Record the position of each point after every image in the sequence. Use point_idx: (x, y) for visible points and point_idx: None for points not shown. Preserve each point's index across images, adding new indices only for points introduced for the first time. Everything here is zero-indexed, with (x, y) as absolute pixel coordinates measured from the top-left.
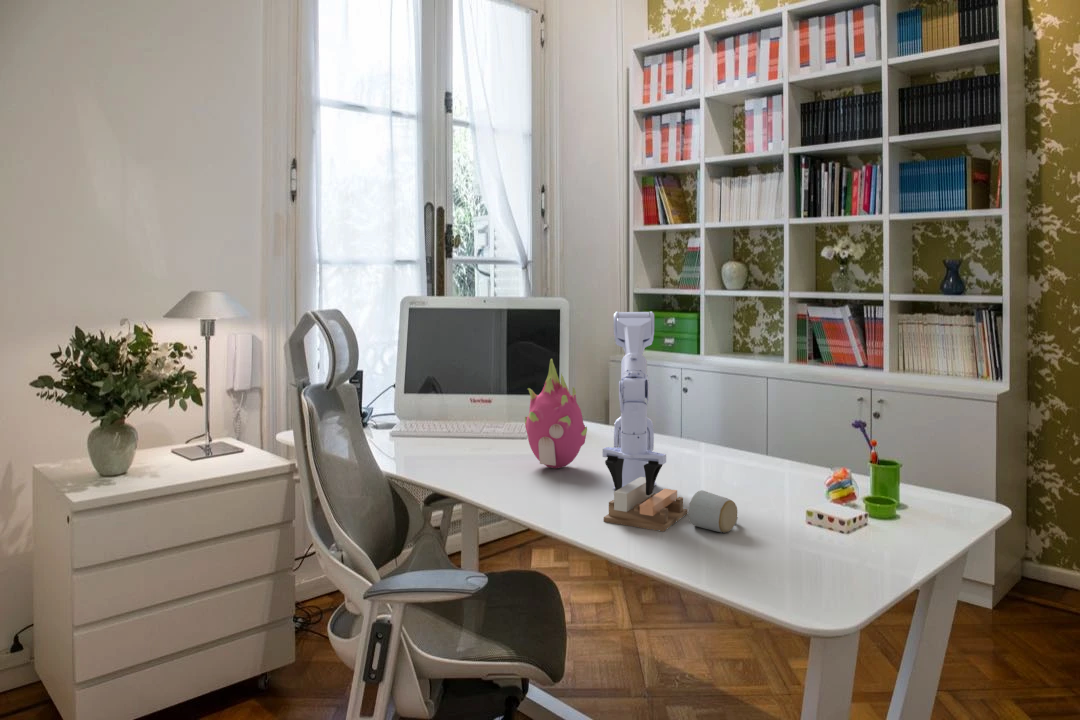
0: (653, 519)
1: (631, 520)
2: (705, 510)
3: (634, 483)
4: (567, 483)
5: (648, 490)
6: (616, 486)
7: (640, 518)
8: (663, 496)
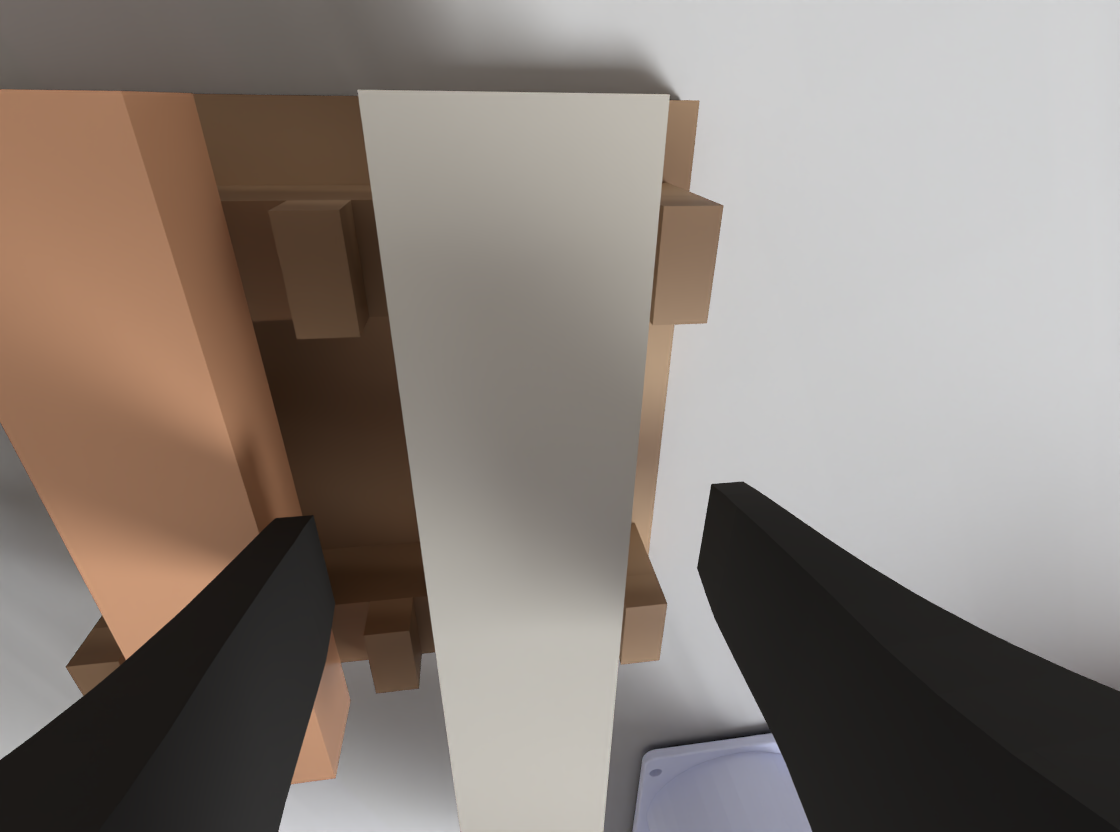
0: None
1: None
2: None
3: (550, 656)
4: None
5: (239, 554)
6: (751, 505)
7: (279, 190)
8: (152, 605)
